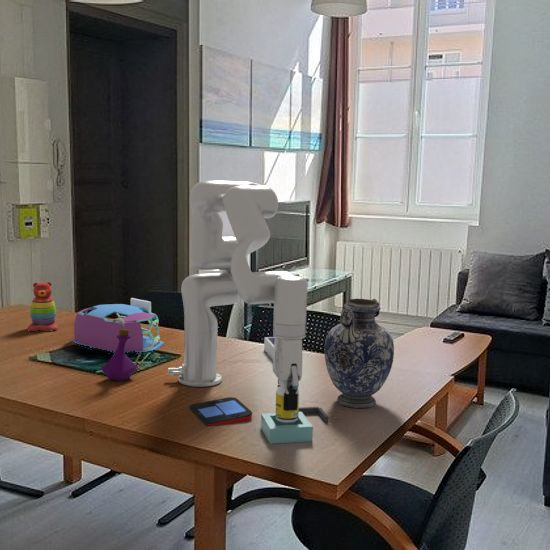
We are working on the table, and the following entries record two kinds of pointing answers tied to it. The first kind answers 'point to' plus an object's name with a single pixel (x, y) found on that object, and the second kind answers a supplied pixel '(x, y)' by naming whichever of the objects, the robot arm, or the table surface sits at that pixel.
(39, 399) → the table surface
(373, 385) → the decorative vase
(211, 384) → the robot arm
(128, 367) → the perfume bottle
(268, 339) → the box
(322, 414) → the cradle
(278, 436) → the port
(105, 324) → the stadium
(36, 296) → the stacking bear
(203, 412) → the game console
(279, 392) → the supplement bottle
